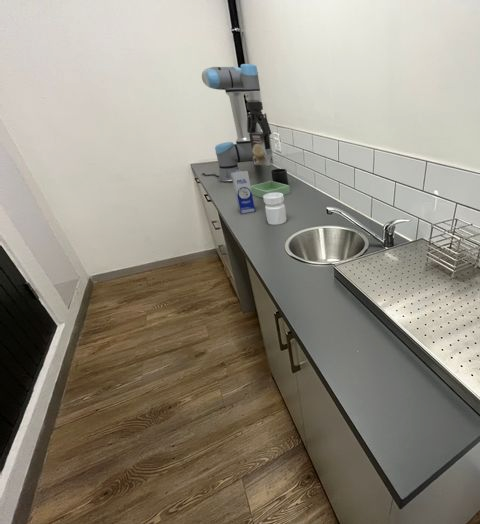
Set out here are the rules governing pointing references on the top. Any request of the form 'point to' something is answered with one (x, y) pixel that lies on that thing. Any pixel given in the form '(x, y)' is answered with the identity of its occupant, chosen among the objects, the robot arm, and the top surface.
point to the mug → (280, 176)
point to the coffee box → (260, 149)
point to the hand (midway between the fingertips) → (261, 148)
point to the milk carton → (243, 191)
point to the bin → (269, 188)
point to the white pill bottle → (275, 208)
